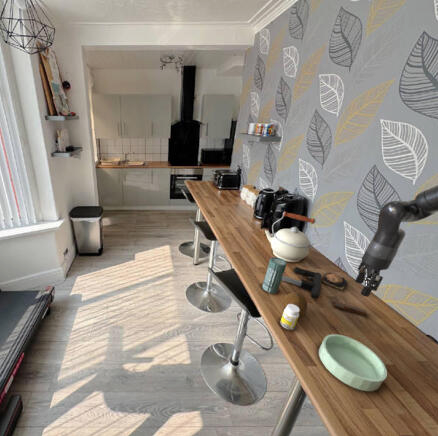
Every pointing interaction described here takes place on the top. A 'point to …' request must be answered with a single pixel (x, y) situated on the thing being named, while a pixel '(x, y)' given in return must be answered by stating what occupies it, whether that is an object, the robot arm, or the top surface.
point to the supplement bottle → (290, 316)
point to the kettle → (291, 240)
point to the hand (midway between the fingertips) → (361, 288)
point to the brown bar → (350, 308)
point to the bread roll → (335, 281)
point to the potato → (296, 302)
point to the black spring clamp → (307, 285)
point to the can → (274, 275)
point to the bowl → (352, 362)
